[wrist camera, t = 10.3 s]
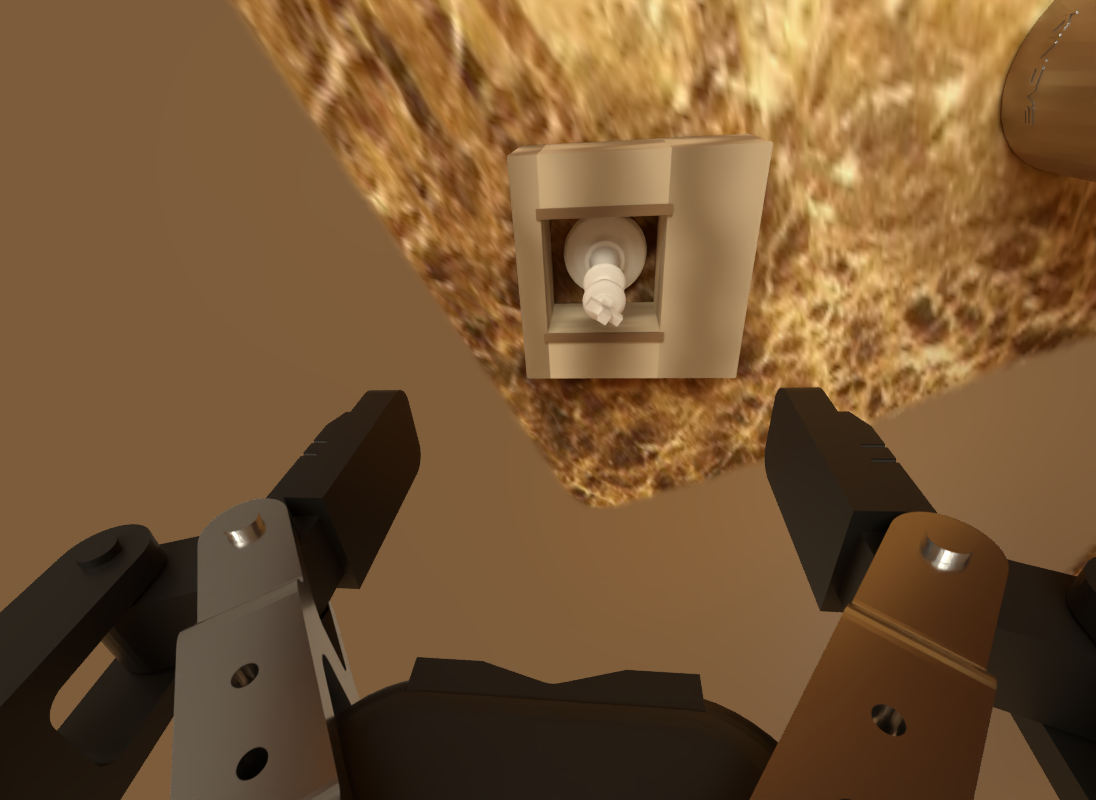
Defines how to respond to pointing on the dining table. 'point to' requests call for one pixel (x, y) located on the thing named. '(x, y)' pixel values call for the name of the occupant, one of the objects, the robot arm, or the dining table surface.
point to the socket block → (681, 256)
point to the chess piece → (605, 263)
